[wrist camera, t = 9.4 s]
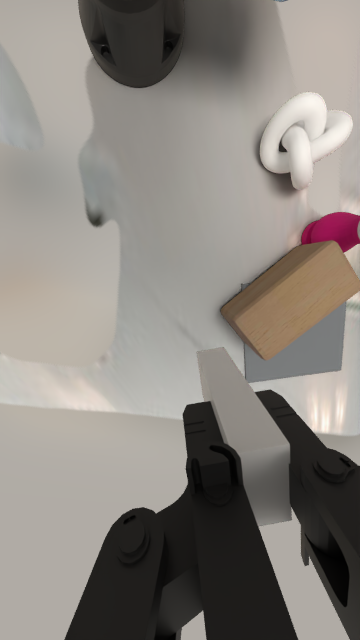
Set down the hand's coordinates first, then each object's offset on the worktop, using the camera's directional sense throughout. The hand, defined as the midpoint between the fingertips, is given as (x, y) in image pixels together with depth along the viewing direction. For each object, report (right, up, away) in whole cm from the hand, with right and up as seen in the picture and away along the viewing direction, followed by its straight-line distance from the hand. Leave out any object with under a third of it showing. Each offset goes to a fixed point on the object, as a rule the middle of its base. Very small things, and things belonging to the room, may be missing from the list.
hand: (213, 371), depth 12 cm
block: (+9, 0, +29) cm, 30 cm away
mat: (+23, +1, +35) cm, 42 cm away
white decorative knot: (+18, +33, +27) cm, 46 cm away
